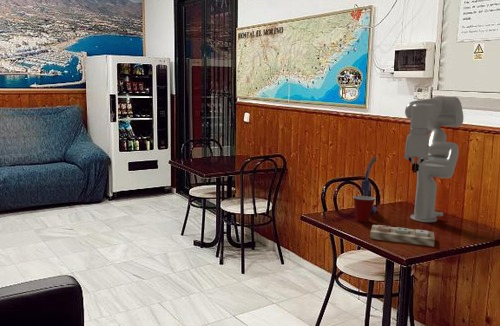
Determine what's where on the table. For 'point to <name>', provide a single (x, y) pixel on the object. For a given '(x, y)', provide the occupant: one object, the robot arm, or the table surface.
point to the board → (402, 236)
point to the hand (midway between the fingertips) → (414, 172)
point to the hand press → (368, 184)
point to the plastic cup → (363, 207)
